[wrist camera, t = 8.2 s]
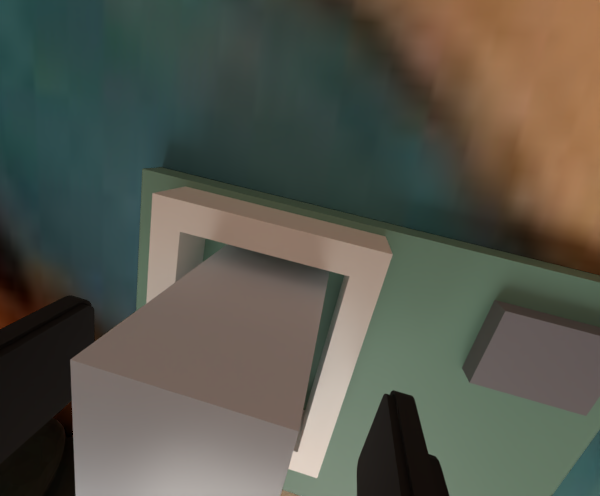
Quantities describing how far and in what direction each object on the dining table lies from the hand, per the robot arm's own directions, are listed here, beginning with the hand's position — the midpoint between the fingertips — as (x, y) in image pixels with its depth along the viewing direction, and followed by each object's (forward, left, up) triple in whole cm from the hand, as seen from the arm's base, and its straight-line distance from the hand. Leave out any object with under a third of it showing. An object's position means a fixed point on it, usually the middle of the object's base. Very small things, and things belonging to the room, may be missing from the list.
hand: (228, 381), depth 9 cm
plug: (0, 0, -3) cm, 3 cm away
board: (-4, +2, -5) cm, 6 cm away
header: (0, 0, -3) cm, 3 cm away
